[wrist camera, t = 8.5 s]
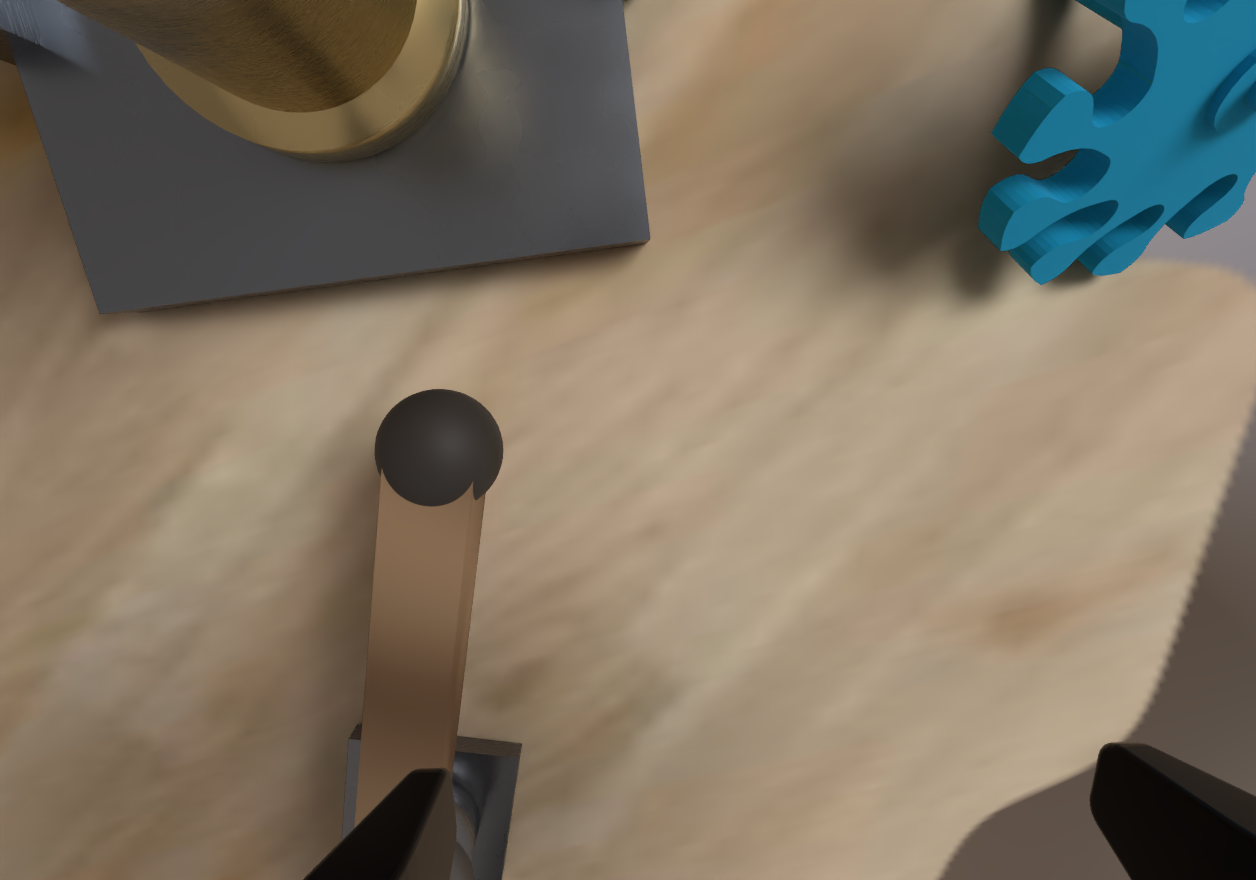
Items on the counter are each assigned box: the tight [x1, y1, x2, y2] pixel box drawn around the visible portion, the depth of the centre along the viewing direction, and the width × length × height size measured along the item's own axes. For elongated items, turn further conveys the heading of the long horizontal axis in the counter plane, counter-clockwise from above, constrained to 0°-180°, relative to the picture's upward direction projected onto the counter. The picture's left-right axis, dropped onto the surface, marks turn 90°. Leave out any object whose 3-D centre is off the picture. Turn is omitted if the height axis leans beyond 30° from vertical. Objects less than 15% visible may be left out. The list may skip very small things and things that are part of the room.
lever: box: [354, 389, 503, 880], centre depth 14 cm, size 16×4×3 cm, turn 171°
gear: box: [978, 0, 1256, 285], centre depth 13 cm, size 11×6×10 cm
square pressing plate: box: [342, 725, 522, 880], centre depth 18 cm, size 5×5×2 cm
